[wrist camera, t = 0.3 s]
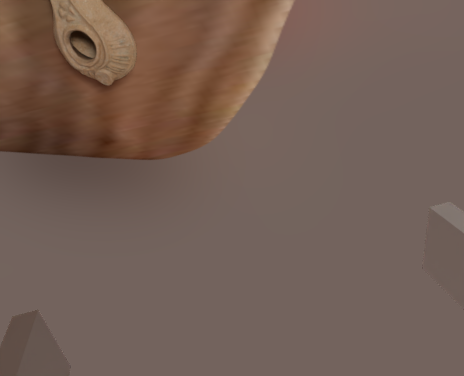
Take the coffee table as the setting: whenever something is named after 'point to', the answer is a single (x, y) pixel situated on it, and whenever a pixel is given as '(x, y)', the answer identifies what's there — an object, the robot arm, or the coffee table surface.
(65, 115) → the coffee table surface
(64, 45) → the pottery oil lamp
